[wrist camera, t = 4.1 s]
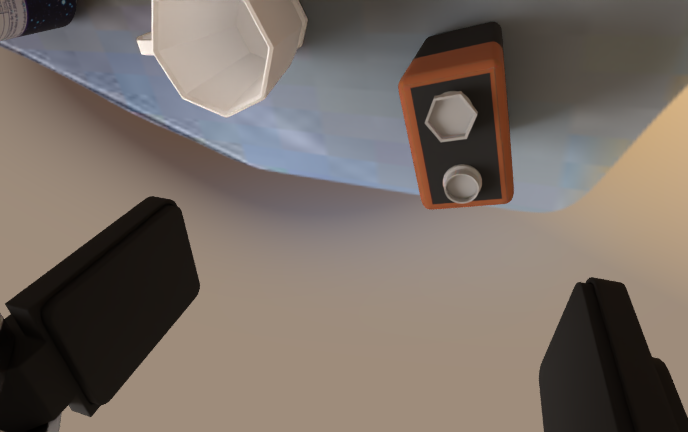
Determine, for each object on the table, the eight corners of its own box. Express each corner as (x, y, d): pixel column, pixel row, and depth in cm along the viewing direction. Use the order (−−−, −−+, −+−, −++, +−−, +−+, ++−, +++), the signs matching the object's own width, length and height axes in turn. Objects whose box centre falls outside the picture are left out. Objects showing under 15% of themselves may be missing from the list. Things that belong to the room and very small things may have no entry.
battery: (500, 17, 23) (503, 63, 15) (509, 131, 26) (516, 217, 19) (423, 36, 25) (389, 86, 17) (440, 141, 28) (419, 223, 20)
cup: (333, 76, 28) (285, 119, 21) (205, 77, 31) (129, 116, 24) (320, -48, 24) (258, -40, 18) (175, -33, 27) (77, -21, 21)
